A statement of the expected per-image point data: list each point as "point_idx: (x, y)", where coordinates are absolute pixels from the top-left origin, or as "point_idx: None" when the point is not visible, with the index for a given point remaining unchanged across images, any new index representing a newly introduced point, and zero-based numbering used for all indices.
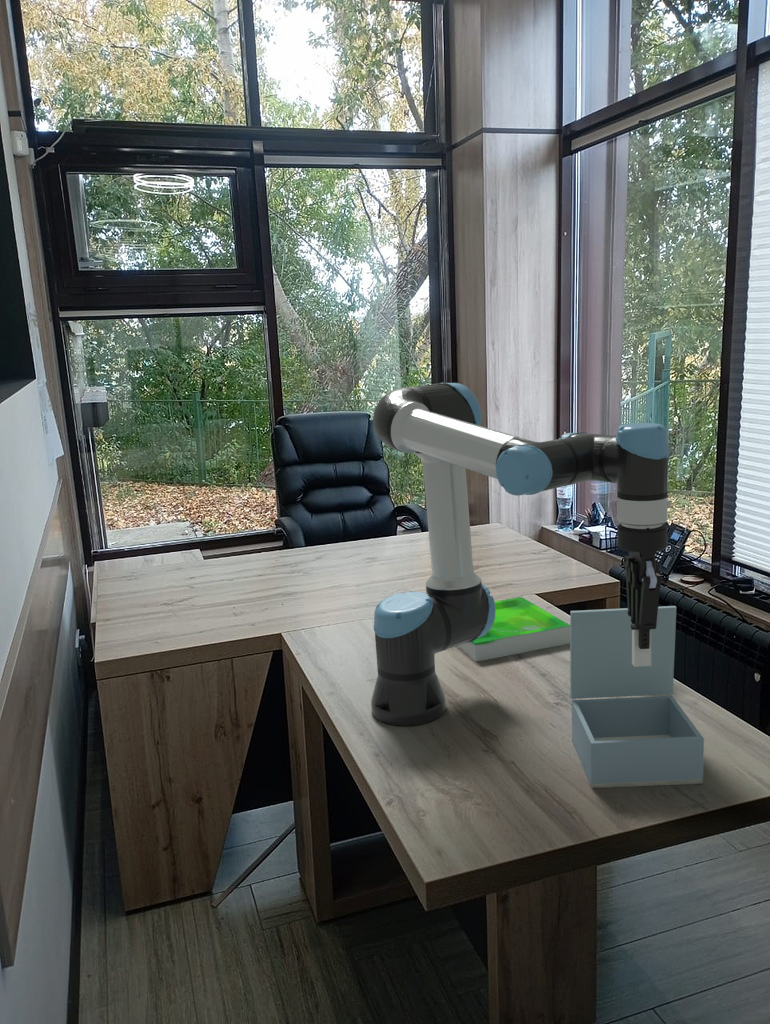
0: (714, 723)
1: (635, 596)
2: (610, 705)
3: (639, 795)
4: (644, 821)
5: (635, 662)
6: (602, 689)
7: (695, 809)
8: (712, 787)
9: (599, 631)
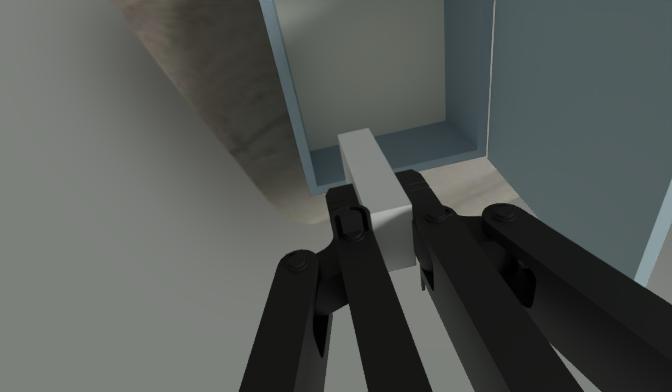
0: (485, 186)
1: (425, 374)
2: (476, 20)
3: (248, 55)
4: (165, 59)
5: (340, 144)
6: (505, 4)
7: (227, 140)
8: (295, 167)
9: (634, 18)
